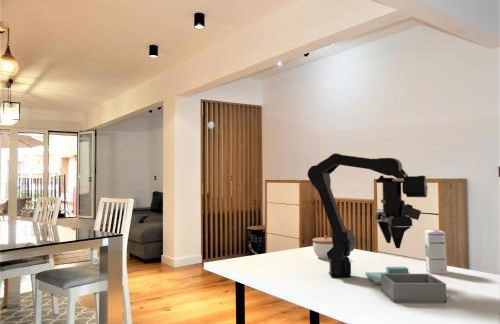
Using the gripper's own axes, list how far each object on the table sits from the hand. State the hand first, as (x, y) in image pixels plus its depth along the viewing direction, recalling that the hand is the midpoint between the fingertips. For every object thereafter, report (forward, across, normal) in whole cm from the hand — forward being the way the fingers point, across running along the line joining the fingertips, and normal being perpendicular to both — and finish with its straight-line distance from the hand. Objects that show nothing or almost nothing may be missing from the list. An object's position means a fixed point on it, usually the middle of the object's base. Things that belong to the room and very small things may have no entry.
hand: (393, 245), depth 122 cm
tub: (+12, -14, -1) cm, 18 cm away
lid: (+12, +3, 0) cm, 12 cm away
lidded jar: (+12, +39, +16) cm, 44 cm away
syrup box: (+12, +14, -19) cm, 27 cm away
